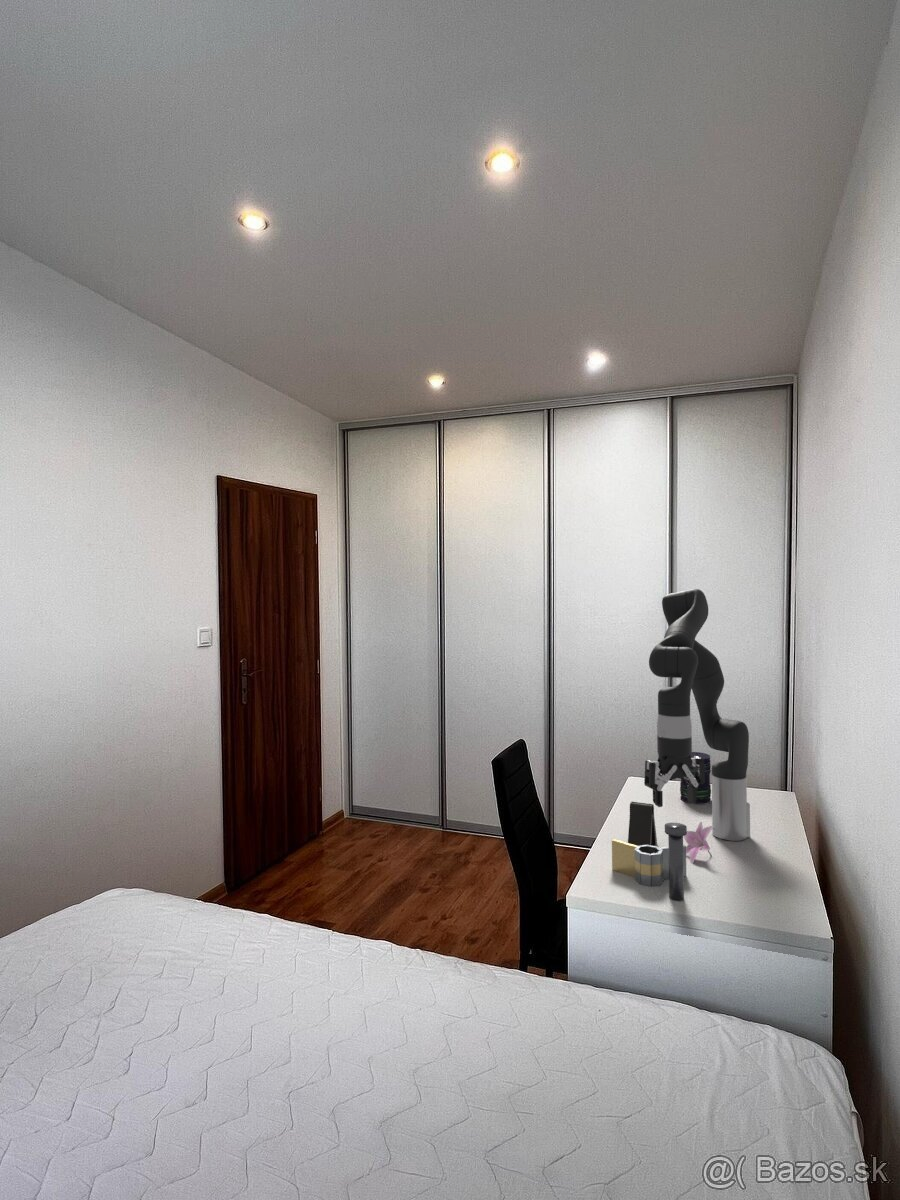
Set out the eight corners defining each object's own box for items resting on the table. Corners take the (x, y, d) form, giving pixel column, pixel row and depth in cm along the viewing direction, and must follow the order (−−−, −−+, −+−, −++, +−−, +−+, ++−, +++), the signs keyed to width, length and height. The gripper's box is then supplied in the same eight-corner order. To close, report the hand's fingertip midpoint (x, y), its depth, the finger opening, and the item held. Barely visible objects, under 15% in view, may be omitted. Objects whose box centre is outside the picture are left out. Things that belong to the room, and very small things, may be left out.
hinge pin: (679, 891, 158) (678, 821, 158) (692, 900, 153) (691, 828, 153) (661, 894, 157) (660, 823, 156) (673, 903, 152) (672, 830, 152)
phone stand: (649, 854, 181) (648, 809, 181) (627, 850, 184) (626, 806, 184) (657, 843, 189) (656, 800, 189) (635, 839, 192) (635, 797, 192)
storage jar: (707, 805, 220) (706, 760, 220) (676, 801, 226) (676, 756, 225) (714, 797, 229) (713, 753, 228) (684, 793, 234) (683, 750, 234)
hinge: (664, 861, 176) (664, 833, 175) (692, 880, 164) (692, 849, 164) (611, 868, 172) (610, 839, 172) (635, 888, 160) (635, 857, 160)
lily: (685, 850, 186) (671, 824, 184) (724, 839, 182) (710, 813, 180) (689, 878, 176) (674, 851, 174) (730, 867, 172) (716, 839, 170)
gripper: (691, 728, 160) (692, 796, 160) (637, 732, 157) (638, 802, 157) (711, 735, 153) (712, 806, 153) (655, 739, 149) (656, 812, 149)
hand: (675, 804), depth 155 cm, fingers open, 8 cm apart
